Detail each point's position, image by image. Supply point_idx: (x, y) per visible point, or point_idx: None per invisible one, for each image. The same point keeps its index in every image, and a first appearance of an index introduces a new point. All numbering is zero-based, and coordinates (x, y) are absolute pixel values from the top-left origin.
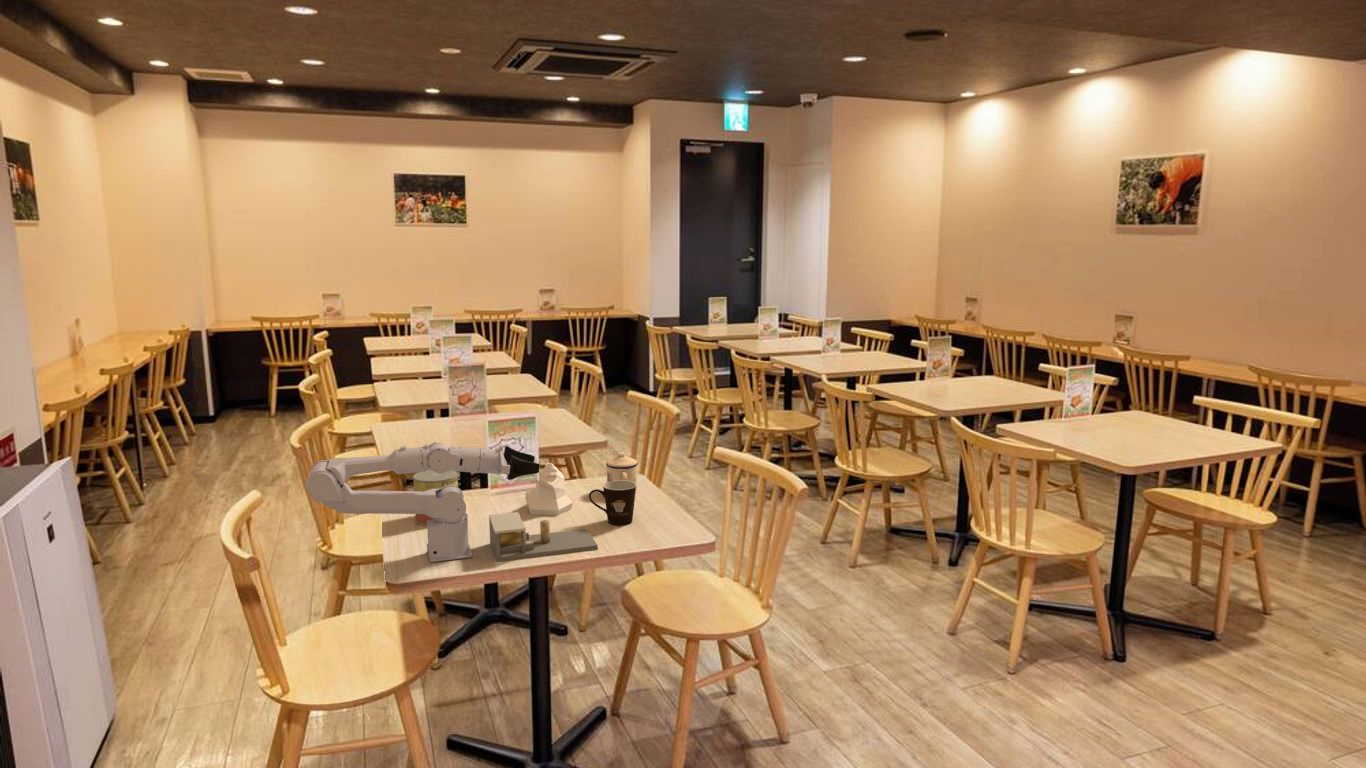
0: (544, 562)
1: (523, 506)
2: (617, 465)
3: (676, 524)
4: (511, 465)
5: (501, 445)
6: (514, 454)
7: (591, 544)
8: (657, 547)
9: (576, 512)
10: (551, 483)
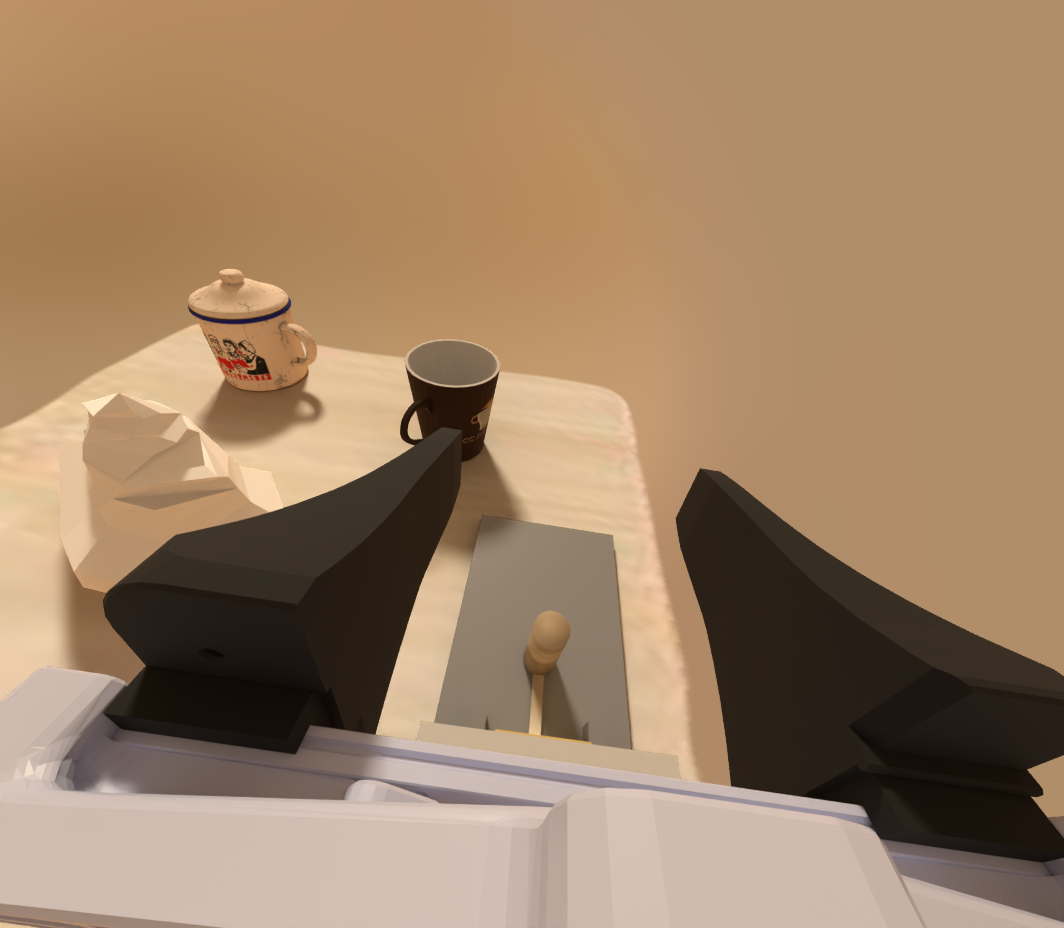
0: (680, 718)
1: (69, 606)
2: (261, 311)
3: (525, 387)
4: (1016, 778)
5: (791, 881)
6: (389, 555)
7: (603, 545)
8: (630, 449)
9: (312, 488)
10: (209, 470)
